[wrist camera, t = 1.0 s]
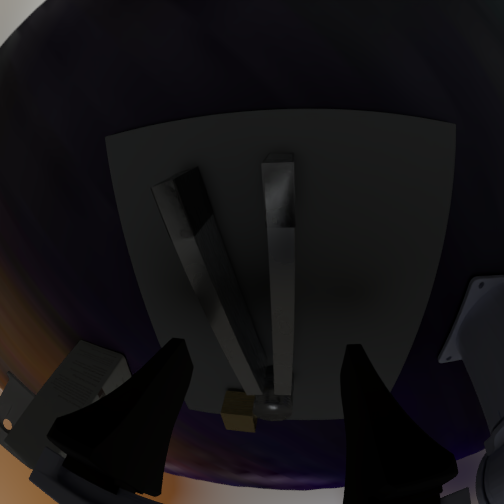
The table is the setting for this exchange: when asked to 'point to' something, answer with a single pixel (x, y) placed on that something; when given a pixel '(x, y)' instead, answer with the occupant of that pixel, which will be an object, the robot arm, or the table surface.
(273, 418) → the tongs fixed
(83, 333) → the table surface
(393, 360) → the mat
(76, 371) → the skincare box
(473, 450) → the table surface
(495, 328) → the robot arm
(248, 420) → the block
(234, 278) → the bar
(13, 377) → the phone holder
